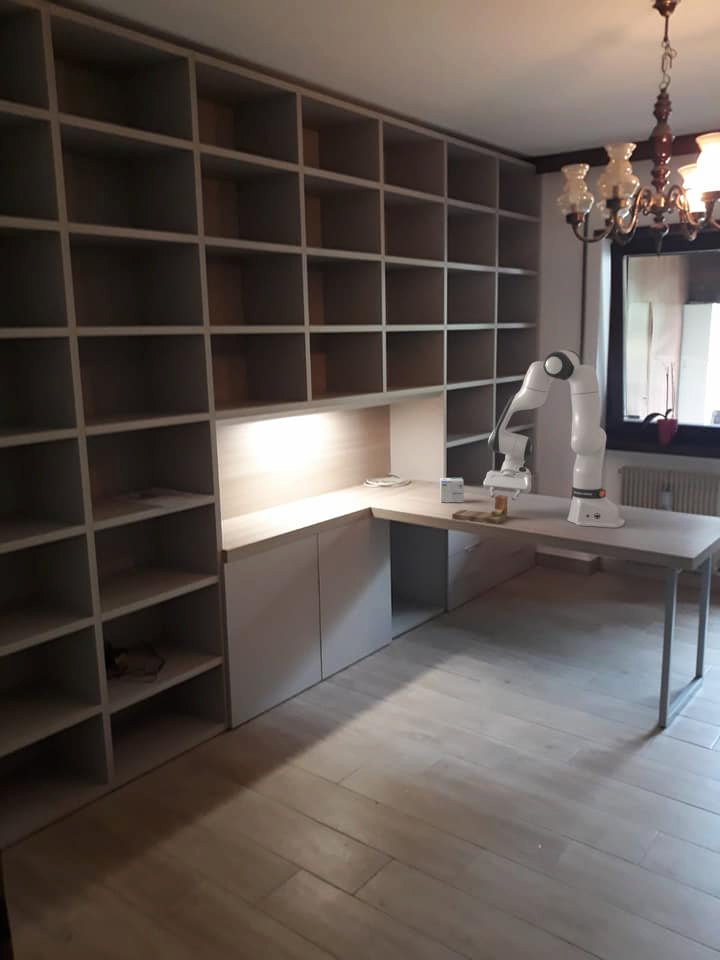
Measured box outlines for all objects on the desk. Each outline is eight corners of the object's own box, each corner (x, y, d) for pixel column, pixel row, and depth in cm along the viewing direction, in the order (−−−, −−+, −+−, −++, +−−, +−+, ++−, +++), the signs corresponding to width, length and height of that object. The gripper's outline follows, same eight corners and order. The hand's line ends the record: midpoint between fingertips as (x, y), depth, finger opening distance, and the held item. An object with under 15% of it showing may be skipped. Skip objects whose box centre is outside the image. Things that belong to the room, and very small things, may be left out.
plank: (505, 519, 326) (505, 514, 325) (497, 524, 317) (498, 519, 317) (461, 514, 335) (461, 509, 335) (452, 518, 327) (452, 514, 326)
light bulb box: (462, 500, 363) (462, 477, 361) (463, 503, 356) (464, 480, 354) (439, 500, 363) (439, 477, 361) (440, 503, 356) (440, 480, 354)
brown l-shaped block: (506, 516, 330) (507, 495, 328) (499, 521, 322) (500, 500, 320) (497, 515, 332) (498, 495, 330) (490, 520, 324) (490, 499, 322)
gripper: (486, 465, 339) (477, 491, 333) (532, 469, 330) (524, 496, 323) (489, 474, 344) (481, 499, 338) (535, 478, 334) (527, 505, 328)
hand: (502, 498), depth 330 cm, fingers open, 8 cm apart
